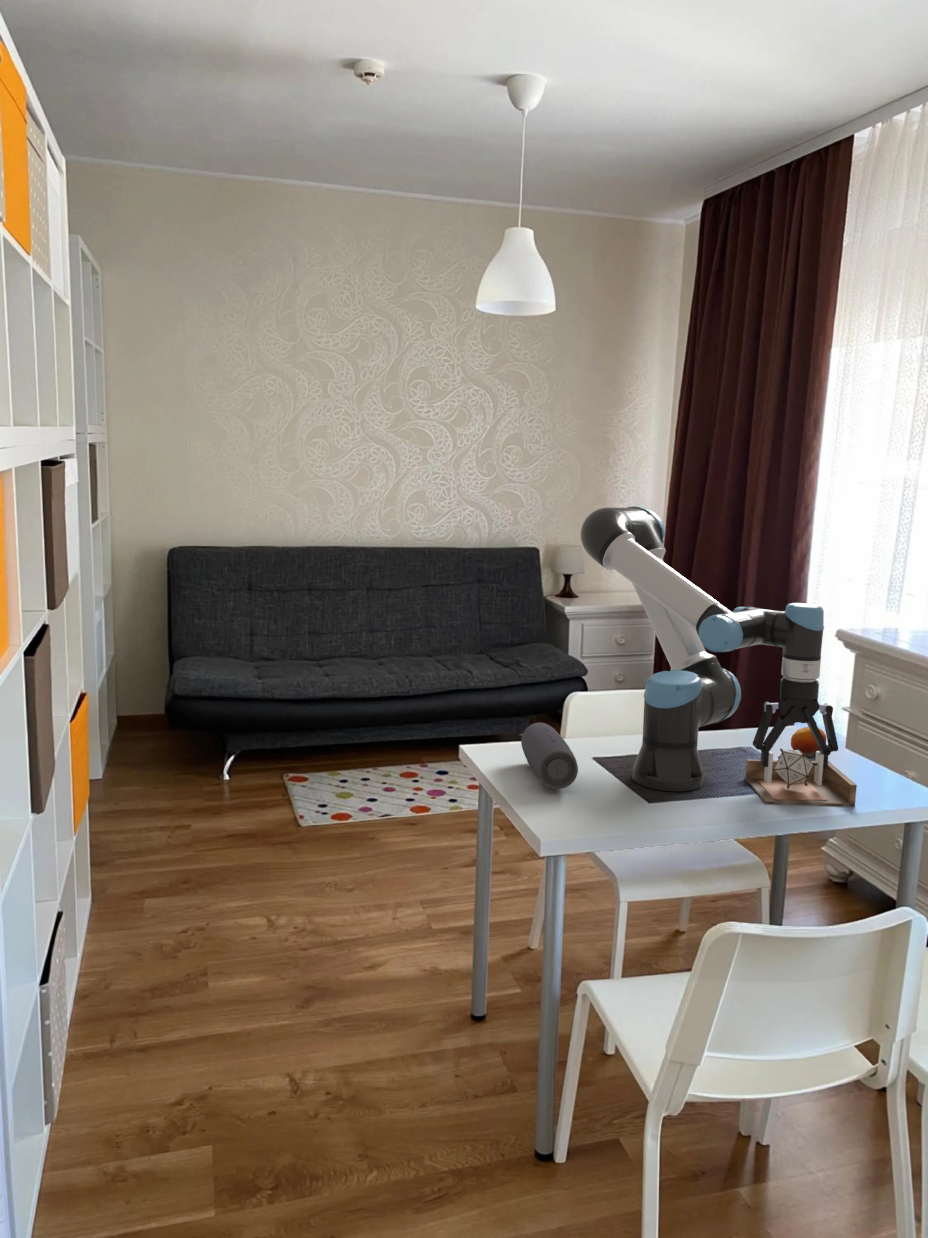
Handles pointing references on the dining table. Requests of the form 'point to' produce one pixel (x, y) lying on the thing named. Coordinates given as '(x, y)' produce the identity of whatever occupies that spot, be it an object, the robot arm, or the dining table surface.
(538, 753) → the bluetooth speaker
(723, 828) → the dining table surface
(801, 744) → the fruit
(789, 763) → the game die
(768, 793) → the brown wooden tray
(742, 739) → the dining table surface
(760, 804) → the dining table surface
